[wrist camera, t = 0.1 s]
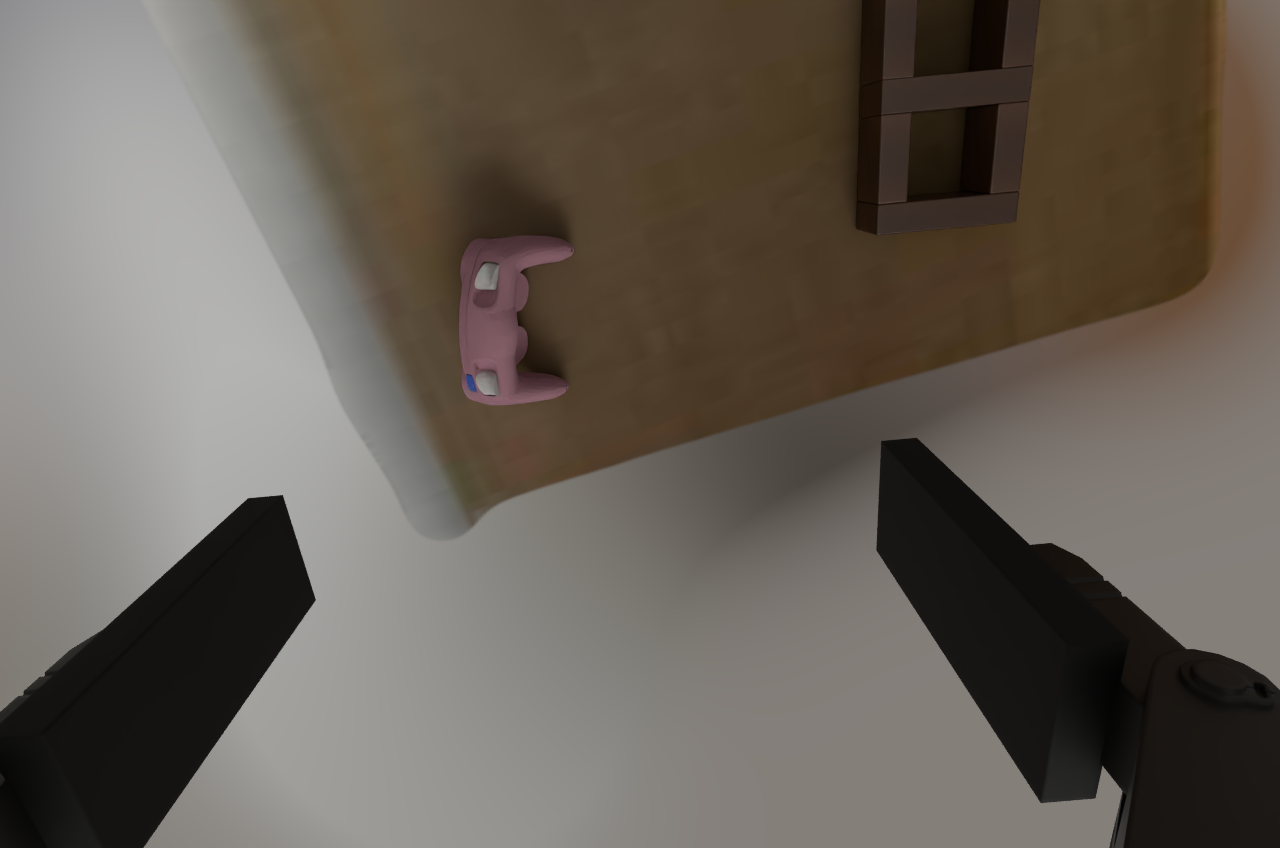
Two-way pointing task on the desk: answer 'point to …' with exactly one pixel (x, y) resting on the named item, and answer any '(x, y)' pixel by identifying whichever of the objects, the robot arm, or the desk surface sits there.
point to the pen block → (986, 91)
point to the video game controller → (502, 319)
